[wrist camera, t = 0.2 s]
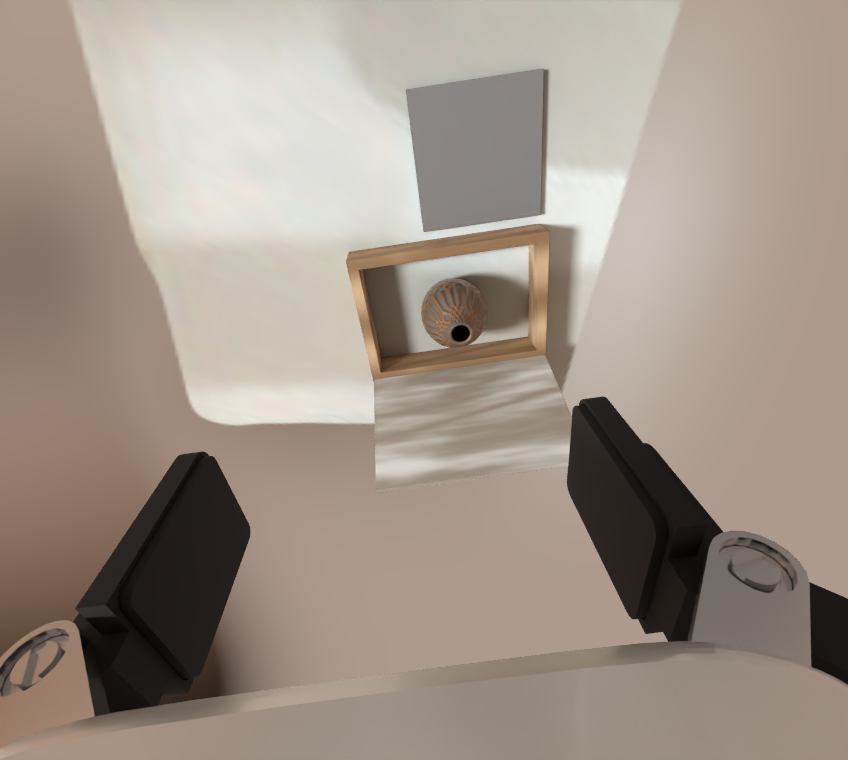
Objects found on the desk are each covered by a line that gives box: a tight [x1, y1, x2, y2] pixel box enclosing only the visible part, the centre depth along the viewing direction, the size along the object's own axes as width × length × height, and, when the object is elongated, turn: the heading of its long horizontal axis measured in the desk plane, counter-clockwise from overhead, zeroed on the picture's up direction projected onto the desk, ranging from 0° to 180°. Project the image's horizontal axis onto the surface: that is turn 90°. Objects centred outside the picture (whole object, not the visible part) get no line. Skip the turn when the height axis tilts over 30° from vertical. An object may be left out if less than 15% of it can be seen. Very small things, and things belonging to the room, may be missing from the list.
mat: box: [406, 69, 544, 232], centre depth 39 cm, size 12×12×1 cm
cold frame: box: [346, 224, 572, 493], centre depth 41 cm, size 19×20×17 cm
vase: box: [421, 278, 487, 348], centre depth 43 cm, size 7×7×9 cm
